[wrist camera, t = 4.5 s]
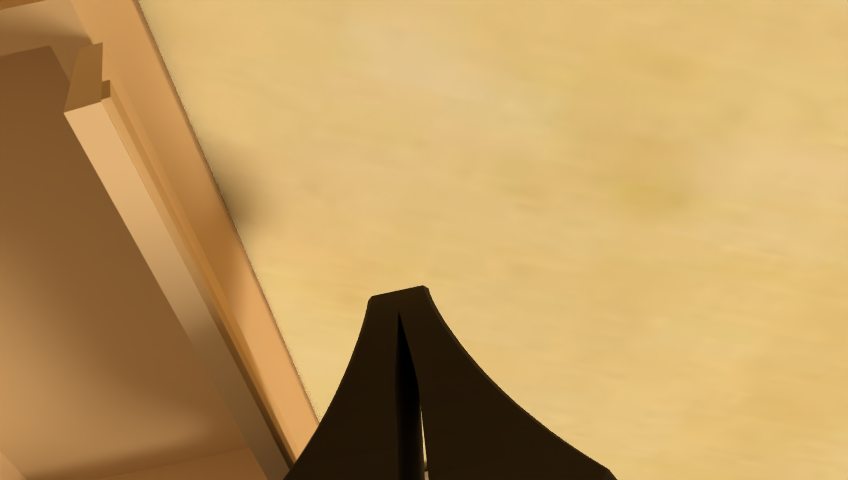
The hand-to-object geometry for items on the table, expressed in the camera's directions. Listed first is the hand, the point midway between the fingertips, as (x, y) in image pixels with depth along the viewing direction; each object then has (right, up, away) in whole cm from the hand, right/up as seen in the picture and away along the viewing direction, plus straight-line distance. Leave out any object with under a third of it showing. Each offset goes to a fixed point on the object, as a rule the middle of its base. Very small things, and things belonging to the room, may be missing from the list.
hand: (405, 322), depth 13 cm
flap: (-3, -2, -1) cm, 4 cm away
